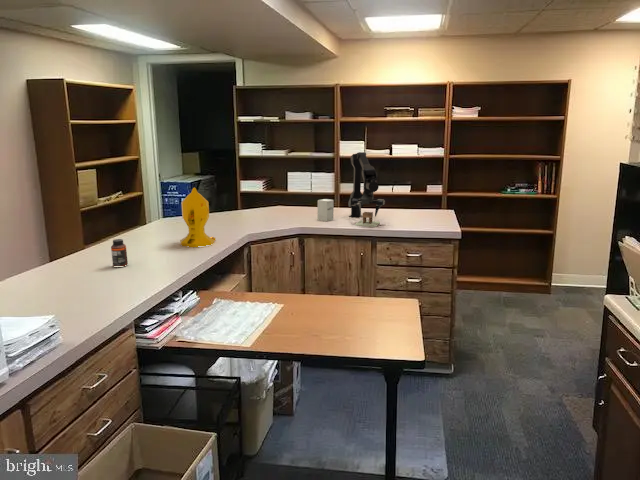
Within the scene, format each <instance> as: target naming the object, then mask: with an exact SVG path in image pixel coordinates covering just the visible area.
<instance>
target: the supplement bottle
mask: <svg viewBox="0 0 640 480" xmlns="http://www.w3.org/2000/svg"><path fill="white" fill-rule="evenodd" d="M110 250H111V258H112V259H111V261H112V267H113V266H125V265H127V264H129V263H128V262H129V261H128V255H127V254H128V253H127V252H128V251H127V246H126V244H125V243H124V239H122V238H116V239H113V240H112V245H111V247H110ZM127 266H128V265H127ZM125 267H126V266H125Z"/></svg>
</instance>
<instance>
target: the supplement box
mask: <svg viewBox="0 0 640 480" xmlns="http://www.w3.org/2000/svg"><path fill="white" fill-rule="evenodd" d="M320 220H321V221H320ZM317 221H320V222H326V221H327V222H329V221H334V199H329V198H323V199H318V200H317Z"/></svg>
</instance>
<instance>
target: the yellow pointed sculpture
mask: <svg viewBox="0 0 640 480" xmlns="http://www.w3.org/2000/svg"><path fill="white" fill-rule="evenodd" d="M209 204H210V203H209V201H208V200H207V199H206V198H205V197H204V196H203V195H202V194H201V193H199V192H198V190H197V188H196V187H193V188H192V189H191V192H189V194H187V195H186V197H185V198H184V199H183V200H182V201H181V215H182V216H181V218H182V219H183V221H184V222H185V224H186V225H187V229H188V233H187V234H186V236H185V237H183V238H181V239H179V244H180V246H181V245H182V246H181V247H183V246H189V247H198V246H206V245H211V244H213V243H214V244H215V241H217V240H216V237H214V236H209V235H207V233H206V232H205V227H206V224H207V223H208V221H209V218H210V208H209V207H210V205H209ZM214 244H213V245H214ZM211 246H212V245H211Z"/></svg>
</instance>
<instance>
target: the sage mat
mask: <svg viewBox="0 0 640 480" xmlns="http://www.w3.org/2000/svg"><path fill="white" fill-rule="evenodd" d="M380 224H381V221H376V220H372V223H371V224H369V220H366V222H365V223H363V219H362V220H361V219H360V220H359V221H357V222H355V224H354V226H355V227H356V226H357V227H369V228H370V227H371V228H376V227H377V226H378V225H380Z"/></svg>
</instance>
